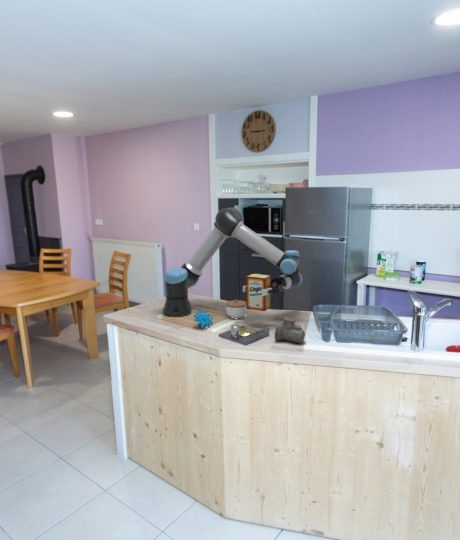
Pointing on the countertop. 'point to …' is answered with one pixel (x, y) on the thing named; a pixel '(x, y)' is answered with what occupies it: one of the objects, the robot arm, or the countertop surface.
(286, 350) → the countertop surface
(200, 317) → the gear
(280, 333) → the pipe fitting
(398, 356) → the countertop surface
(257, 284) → the baking soda box
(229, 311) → the lidded jar
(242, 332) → the carrier plate
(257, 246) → the robot arm
